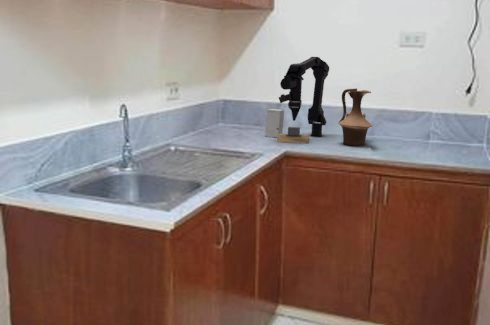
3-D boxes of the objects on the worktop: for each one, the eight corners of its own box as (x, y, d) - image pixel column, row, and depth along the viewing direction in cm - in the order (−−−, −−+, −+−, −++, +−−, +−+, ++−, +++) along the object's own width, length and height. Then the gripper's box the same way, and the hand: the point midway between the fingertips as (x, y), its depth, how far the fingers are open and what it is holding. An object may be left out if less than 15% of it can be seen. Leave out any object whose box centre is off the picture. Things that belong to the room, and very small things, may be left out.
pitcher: (330, 144, 251) (333, 87, 246) (343, 141, 265) (347, 87, 260) (364, 148, 242) (368, 89, 237) (376, 144, 256) (380, 89, 251)
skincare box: (264, 136, 274) (265, 109, 271) (269, 135, 279) (270, 108, 276) (278, 137, 270) (280, 110, 267) (283, 136, 275) (284, 109, 272)
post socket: (278, 138, 269) (279, 133, 269) (308, 139, 267) (309, 134, 267) (277, 141, 255) (277, 137, 255) (308, 143, 253) (308, 138, 253)
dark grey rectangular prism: (287, 139, 264) (288, 126, 262) (299, 140, 263) (300, 127, 262) (287, 141, 260) (288, 127, 258) (299, 141, 259) (299, 128, 258)
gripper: (281, 87, 266) (280, 117, 269) (278, 89, 248) (277, 120, 251) (302, 88, 265) (300, 118, 268) (301, 90, 247) (299, 121, 250)
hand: (294, 119), depth 259 cm, fingers open, 9 cm apart
